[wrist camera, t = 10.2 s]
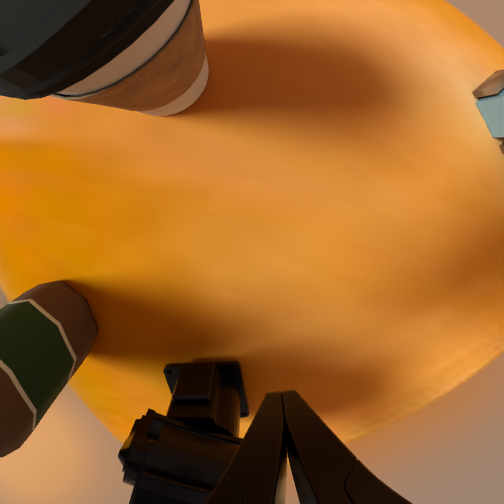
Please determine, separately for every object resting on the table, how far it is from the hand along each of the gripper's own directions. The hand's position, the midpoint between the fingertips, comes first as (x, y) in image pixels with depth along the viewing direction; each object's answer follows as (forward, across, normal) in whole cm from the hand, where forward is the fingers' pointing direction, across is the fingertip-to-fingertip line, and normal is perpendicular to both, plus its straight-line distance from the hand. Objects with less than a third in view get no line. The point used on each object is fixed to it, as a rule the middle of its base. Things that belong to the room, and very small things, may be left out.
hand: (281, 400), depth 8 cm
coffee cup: (+13, +5, -14) cm, 20 cm away
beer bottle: (+13, +18, +3) cm, 23 cm away
